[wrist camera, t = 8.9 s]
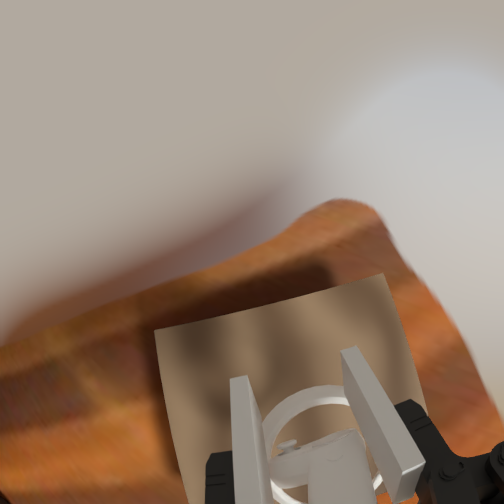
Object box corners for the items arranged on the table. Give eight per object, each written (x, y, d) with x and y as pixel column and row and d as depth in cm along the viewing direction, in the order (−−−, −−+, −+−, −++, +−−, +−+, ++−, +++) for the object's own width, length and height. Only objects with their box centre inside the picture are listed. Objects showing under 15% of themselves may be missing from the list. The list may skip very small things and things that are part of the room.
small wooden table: (214, 508, 23) (197, 530, 18) (178, 344, 32) (154, 330, 26) (412, 457, 24) (439, 468, 18) (366, 296, 32) (383, 272, 26)
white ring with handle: (281, 630, 6) (190, 602, 5) (283, 472, 17) (233, 402, 16) (450, 587, 5) (452, 553, 4) (392, 432, 16) (361, 351, 15)
